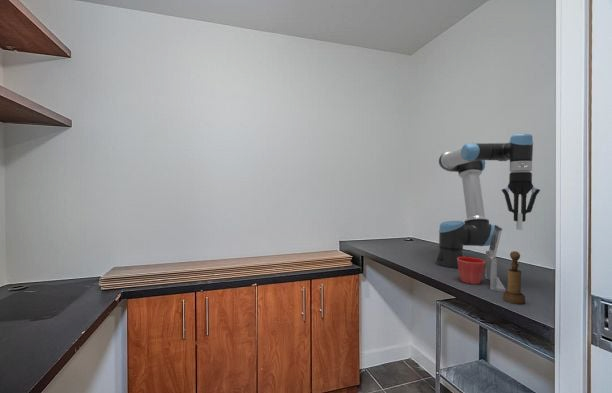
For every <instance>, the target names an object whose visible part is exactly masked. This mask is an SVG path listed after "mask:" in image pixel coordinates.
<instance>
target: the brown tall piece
mask: <svg viewBox="0 0 612 393" xmlns="http://www.w3.org/2000/svg"><path fill="white" fill-rule="evenodd" d="M509 257H510V258H511V260H512V261H511V263H510V266H511V268H509V269H508V270H507V289H506V291H505V292H502V300H503V301H505V302H506V303H507V302H508V303H510V304H515V305H524V304H526V296H525V295H524V294H523V293H522V291H521V287H522V284H521V282H522V271H521V270H520V269H519V268H518V267H519V263H518V260H519V259H520V258H521V254H520V252H518V251H514V250H513V251H511V252H510V253H509Z"/></svg>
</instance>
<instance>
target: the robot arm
mask: <svg viewBox="0 0 612 393" xmlns="http://www.w3.org/2000/svg"><path fill="white" fill-rule="evenodd" d="M533 150H534V139H533V135H532V134H530V133H517V134H512V135H511V136H510V139H509V141H508V142H504V143H503V142H499V143H498V142H497V143H495V142H494V143H493V142H492V143H491V142H490V143H489V142H488V143H480V142H479V143H476V142H475V143H474V142H471V143H465V144H463V146H462V147H461V148H460V149H456V150H453V151H451V150H448V151H445V152H443V153H441V155H440V156H439V158H438V165H439V166H440V168H441V169H442V170H444V171H446V172H451V173H452V172H456V173H457V172H458V177H460V179H461V181H462V189H463V190H462V191H463V198H464V205H465V213H466V214H465V215H466V219H464V221H463V220H448V221H447V220H446V221H442V222H441V223H440V224H439V230H438V233H439V234H438V235H439V236H438V238H439V239H438V251H437V254H436V256H435V261H434V263H435V265H438V266H442V267H445V268H453V269H458V262H457V258H458V257H466V256H465V253H464V246H467V247H468V246H470V247H473V246H475V247H490V244H491V240H492V235H493V231H494V226H495V225H494V224H492V223H490V220H489V219H488V218H487V217H486V215H485V208H484V200H483V191H482V186H481V178H480V176H481V175H482V173H483V171H484V170H485V167H486V166H485V165H486V161H497V162H508V161H509V172H510V173H509V180H508V185H507V187H505V188H502V189H501V193H503V195H504V199H505V202H506V207H507V210H508V211H509V212H511V213H513V221H514V222H516V224H515V225H516V230H518V231H519V230H520V231H522V230H523V223H524V222H526V215H527V214H528V213H531V212H532V210H533V207H534V204H535V201H536V198H537V196H538V194H539V193H540V191H541V189H539V188H537V187H534V185H533V173H532V171H533ZM530 191H531V195H530V198H529V202H528V205H527V197H528V196H527V195H528V194H529V193H530ZM509 192H511V193H512V194H513V203H512V200H511V198H510V195H509V194H510V193H509ZM519 197H520V199H521V201H520V202H519ZM519 203H520V212H521V213H519ZM512 204H513V205H512Z"/></svg>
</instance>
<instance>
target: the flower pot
mask: <svg viewBox="0 0 612 393" xmlns="http://www.w3.org/2000/svg"><path fill="white" fill-rule="evenodd" d="M457 262H458V268H457V269H458V273H459V279H460V281H461V282H463V283H465V282H466V283H465V284H469V283H471V284H470V285H479V284H481V282H482V278H483V274H484V272H485V271H484V270H485V268H486V260H484V259H481V258H479V257H478V258H477V257H471V256H465V257H458V258H457Z"/></svg>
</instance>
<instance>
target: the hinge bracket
mask: <svg viewBox="0 0 612 393" xmlns="http://www.w3.org/2000/svg"><path fill="white" fill-rule="evenodd" d="M488 253H489V250H485V267H484V270H485V271H484V272H485V273H484V274H485V275H484V276H485V277H484V279H485V280H490V281H489V290H490V291H491V290H492V291H496V292H499V293H501V292H502V293H503V292H505V291H507V289H506V288H505V286H504V284H503V282H502V281H501V280H500V277H499V276H498V258H496V257H495V258H491V259H490V258H489V256H488V255H487V254H488Z"/></svg>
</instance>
